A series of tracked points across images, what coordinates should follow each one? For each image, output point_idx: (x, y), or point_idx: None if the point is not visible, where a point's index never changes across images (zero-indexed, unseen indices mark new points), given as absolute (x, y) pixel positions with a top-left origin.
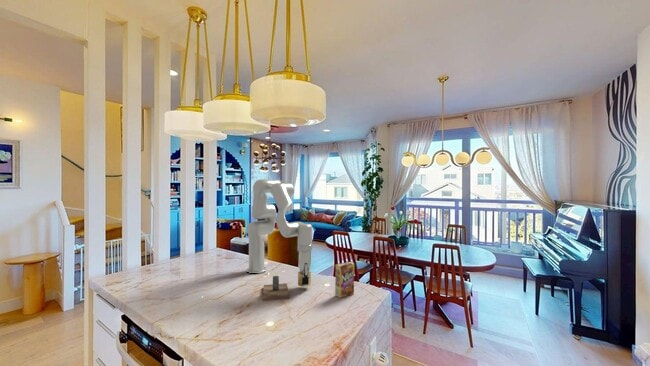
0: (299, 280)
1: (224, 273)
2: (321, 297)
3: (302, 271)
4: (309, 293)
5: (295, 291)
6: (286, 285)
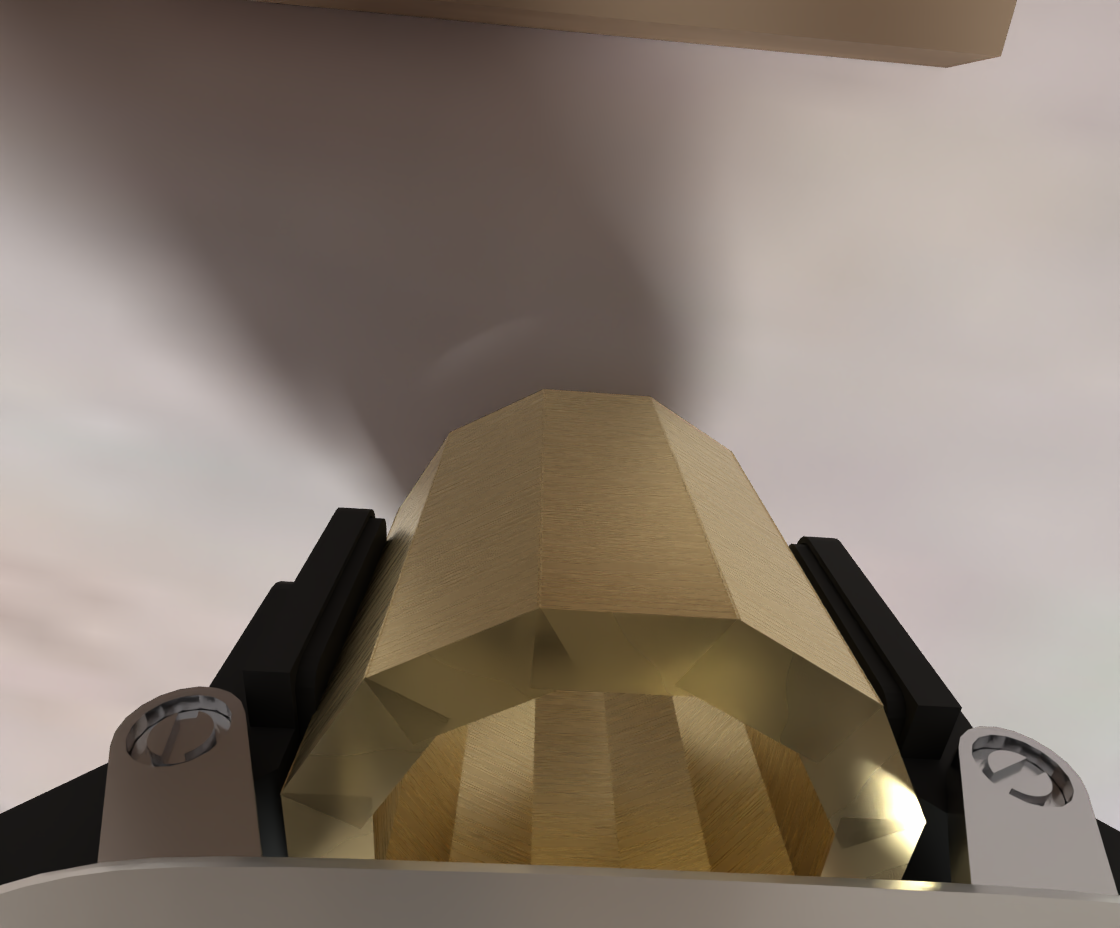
0: (466, 488)
1: None
2: (24, 713)
3: (828, 818)
4: (256, 554)
5: (446, 262)
6: (787, 6)
